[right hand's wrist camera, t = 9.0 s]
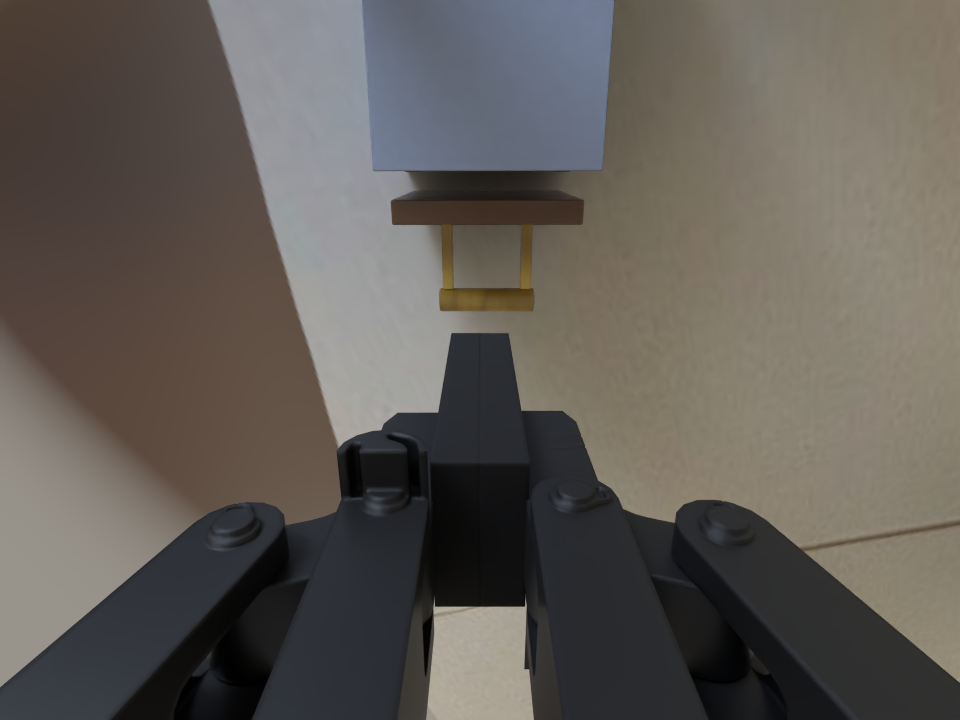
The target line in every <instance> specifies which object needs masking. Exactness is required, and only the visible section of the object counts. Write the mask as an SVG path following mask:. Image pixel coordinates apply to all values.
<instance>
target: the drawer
mask: <svg viewBox="0 0 960 720" xmlns="http://www.w3.org/2000/svg"><path fill="white" fill-rule="evenodd" d="M405 172H421V171H405ZM583 211H584V200H582V199H579V198H577V197H574V196H571V195H569V194H566V193H563V192H561V191H558V190H524V191H413V192H411V193H408V194H406V195H403V196H401V197H398V198H396V199H394V200H391V212H392V224H393V225H441V227H442V266H443V288H441V289H440V295H439V303H440V310H441V311H533V309H534V290H533V288H531V257H532V225H581V224H582V223H583ZM453 225H521V255H520V288H453V287H454V273H453Z"/></svg>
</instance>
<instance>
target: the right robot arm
mask: <svg viewBox="0 0 960 720" xmlns="http://www.w3.org/2000/svg"><path fill="white" fill-rule="evenodd" d="M337 459H338V469H339V479H340V488H341V498H342V499H341V502H340V504H339V507H338V509H337V512H335V513H332V514H330V515H328V516H325V517H322V518H318V519H314V520H310V521H305V522H301V523H295V524H290V525H286V526H285V519H284V514H283V513H282V512H281V511H280V510H279V509H278V508H277V507H274V506H272V505H269V504H265V503H251V502H246V503H239V504H233V505H229V506H226V507H224V508H221V509H219V510H216V511H214V512H211V513H209V514H207V515H206V516H204V517H203V518H201V519H200V520H198V521H197V522H195V523H194V524H192V525H191V526H190V527H189V528H188V529H187V530H185V531H184V532H183V533H182V534H181V535H180V536H178V537H177V538H176V539H175V540H174V541H172V542H171V543H170V544H169V545H168V546H167V547H165V548H164V549H163V550H162V551H161V552H159V553H158V554H157V555H156V556H155V557H154V558H152V559H151V560H150V561H149V562H148V563H147V564H145V565H144V566H143V567H142V568H141V569H139V570H138V571H137V572H136V573H135V574H133V575H132V576H131V577H130V578H129V579H128V580H126V581H125V582H124V583H123V584H122V585H121V586H119V587H118V588H117V589H116V590H115V591H113V592H112V593H111V594H110V595H109V596H108V597H106V598H105V599H104V600H103V601H102V602H100V603H99V604H98V605H97V606H96V607H95V608H93V609H92V610H91V611H90V612H89V613H88V614H86V615H85V616H84V617H83V618H82V619H80V620H79V621H78V622H77V623H76V624H74V625H73V626H72V627H71V628H70V629H69V630H67V631H66V632H65V633H64V634H63V635H62V636H60V637H59V638H58V639H57V640H56V641H54V642H53V643H52V644H51V645H50V646H49V647H47V648H46V649H45V650H44V651H43V652H41V653H40V654H39V655H38V656H37V657H36V658H34V659H33V660H32V661H31V662H30V663H29V664H27V665H26V666H25V667H24V668H23V669H21V670H20V671H19V672H18V673H17V674H16V675H14V676H13V677H12V678H11V679H10V680H8V681H7V682H6V683H5V684H4V685H3V686H1V687H0V720H426V714H427V704H428V694H429V683H430V672H431V662H432V651H433V640H434V615H433V606H434V596H435V607H525V593H526V603H527V615H526V641H525V668H524V669H529V671H530V682H531V693H532V703H533V714H534V720H960V683H959V682H958V681H957V680H956V679H954V678H953V677H952V676H951V675H950V674H949V673H947V672H946V671H945V670H944V669H943V668H941V667H940V666H939V665H938V664H937V663H935V662H934V661H933V660H932V659H931V658H929V657H928V656H927V655H926V654H925V653H924V652H922V651H921V650H920V649H919V648H918V647H916V646H915V645H914V644H913V643H912V642H910V641H909V640H908V639H907V638H906V637H904V636H903V635H902V634H901V633H900V632H899V631H897V630H896V629H895V628H894V627H893V626H891V625H890V624H889V623H888V622H887V621H885V620H884V619H883V618H882V617H881V616H879V615H878V614H877V613H876V612H875V611H874V610H872V609H871V608H870V607H869V606H868V605H866V604H865V603H864V602H863V601H862V600H860V599H859V598H858V597H857V596H856V595H855V594H853V593H852V592H851V591H850V590H849V589H847V588H846V587H845V586H844V585H843V584H841V583H840V582H839V581H838V580H837V579H835V578H834V577H833V576H832V575H831V574H830V573H828V572H827V571H826V570H825V569H824V568H822V567H821V566H820V565H819V564H818V563H816V562H815V561H814V560H813V559H812V558H810V557H809V556H808V555H807V554H806V553H805V552H803V551H802V550H801V549H800V548H799V547H797V546H796V545H795V544H794V543H793V542H791V541H790V540H789V539H788V538H787V537H785V536H784V535H783V534H782V533H781V532H780V531H778V530H777V529H776V528H775V527H774V526H772V525H771V524H770V523H769V522H768V521H766V520H765V519H763V518H762V517H760V516H759V515H757V514H756V513H754V512H753V511H751V510H748V509H746V508H743V507H741V506H738V505H736V504H733V503H730V502H726V501H724V502H723V501H719V500H696V501H693V502H690V503H687V504H684V505H683V506H682V507H681V508H680V509H679V510H678V511H677V512H676V519H675V523H672V522H667V521H662V520H657V519H652V518H647V517H644V516H640V515H636V514H633V513H631V512H629V511H626V510H624V509H623V508H622V506H621V503H620V501H619V498H618V497H617V496H616V494H615V493H614V492H613V490H612V489H611V488H609V487H608V486H606V485H604V484H603V483H601V482H600V481H598V479H597V477H596V474H595V471H594V469H593V466H592V463H591V461H590V458H589V455H588V453H587V450H586V448H585V444H584V442H583V439H582V437H581V434H580V431H579V428H578V426H577V423H576V421H574V420H573V419H572V418H571V417H569V416H568V415H567V414H566V413H564V412H563V411H521V406H520V400H519V394H518V388H517V382H516V376H515V370H514V364H513V358H512V352H511V346H510V340H509V334H508V333H452V334H451V340H450V346H449V352H448V358H447V364H446V370H445V376H444V382H443V388H442V394H441V400H440V406H439V412H438V413H397V414H396V415H394V416H393V417H392V418H391V419H389V420H388V421H387V422H386V423H384V425H383V428H382V430H380V431H371V432H368V433H364V434H361V435H357V436H355V437H353V438H351V439H349V440H348V441H346V442H344V443H343V444H342V445H341V446H340V448H339V449H338V450H337Z"/></svg>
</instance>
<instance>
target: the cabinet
mask: <svg viewBox="0 0 960 720" xmlns="http://www.w3.org/2000/svg"><path fill="white" fill-rule="evenodd" d="M614 1H615V0H362V8H363V23H364V39H365V54H366V69H367V85H368V100H369V115H370V131H371V146H372V161H373V171H602V169H603V155H604V141H605V127H606V113H607V99H608V85H609V71H610V57H611V43H612V29H613V15H614Z"/></svg>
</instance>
